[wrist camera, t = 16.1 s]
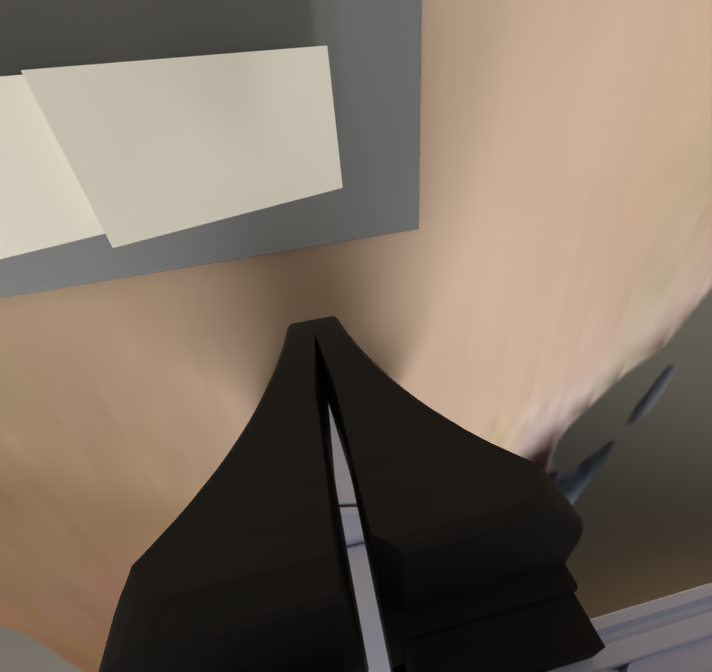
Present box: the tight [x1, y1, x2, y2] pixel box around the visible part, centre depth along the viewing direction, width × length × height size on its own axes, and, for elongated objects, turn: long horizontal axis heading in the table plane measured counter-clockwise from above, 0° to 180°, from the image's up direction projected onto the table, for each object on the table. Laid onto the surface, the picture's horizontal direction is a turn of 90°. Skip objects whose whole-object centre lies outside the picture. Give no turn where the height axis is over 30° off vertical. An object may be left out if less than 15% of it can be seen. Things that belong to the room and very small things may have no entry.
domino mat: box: [0, 0, 421, 298], centre depth 15 cm, size 34×11×1 cm, turn 95°
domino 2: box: [21, 46, 343, 248], centre depth 13 cm, size 2×5×9 cm
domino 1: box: [0, 75, 105, 259], centre depth 12 cm, size 2×5×9 cm
